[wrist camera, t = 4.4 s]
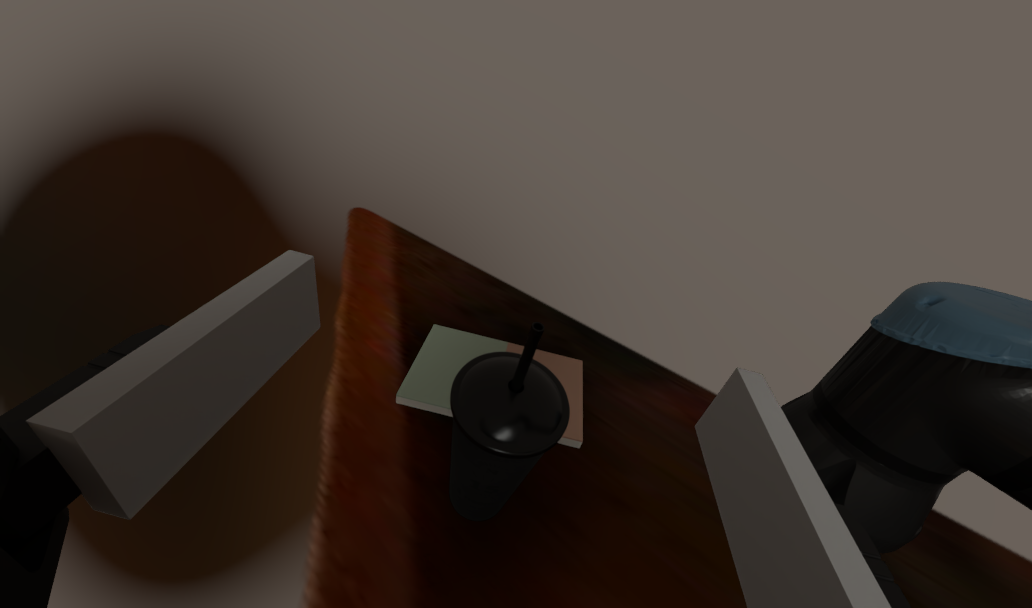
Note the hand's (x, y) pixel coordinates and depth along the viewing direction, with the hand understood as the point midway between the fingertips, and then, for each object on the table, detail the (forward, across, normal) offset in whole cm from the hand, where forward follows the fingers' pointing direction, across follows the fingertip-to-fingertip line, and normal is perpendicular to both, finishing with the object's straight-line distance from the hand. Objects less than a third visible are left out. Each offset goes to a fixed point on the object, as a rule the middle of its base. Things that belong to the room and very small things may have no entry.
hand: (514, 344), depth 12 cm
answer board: (+22, 0, -24) cm, 33 cm away
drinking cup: (+9, 0, -24) cm, 26 cm away
